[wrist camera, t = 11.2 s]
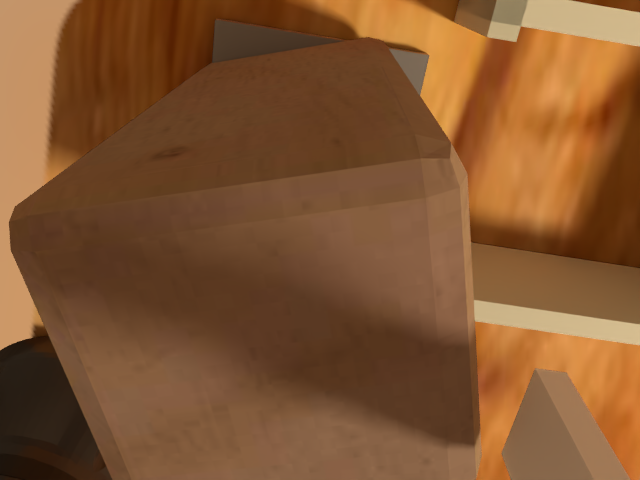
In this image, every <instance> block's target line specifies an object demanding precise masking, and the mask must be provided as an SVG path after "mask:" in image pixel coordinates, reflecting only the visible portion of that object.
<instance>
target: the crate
mask: <svg viewBox="0 0 640 480" xmlns="http://www.w3.org/2000/svg"><path fill="white" fill-rule="evenodd" d="M454 22H455V23H457V24H459V25H461V26H464V27H466V28H468V29H470V30H472V31H475V32H477V33H479V34H481V35H484V36H486V37H490V38H496V39H502V40H508V41H514V42H516V40H517V37H518V34H519V30H520V27H521V26H523V27H529V28H535V29H540V30H546V31H552V32H558V33H564V34H570V35H576V36H581V37H587V38H593V39H599V40H605V41H611V42H617V43H622V44H628V45H634V46H640V12H634V11H628V10H622V9H617V8H611V7H605V6H599V5H594V4H588V3H582V2H576V1H571V0H459V3H458V7H457V12H456V16H455V20H454ZM471 256H472V276H473V295H474V315H475V321H478V322H484V323H491V324H498V325H505V326H512V327H519V328H525V329H532V330H539V331H546V332H553V333H560V334H566V335H573V336H580V337H587V338H594V339H600V340H607V341H614V342H621V343H628V344H635V345H640V268H636V267H629V266H623V265H616V264H610V263H603V262H596V261H590V260H583V259H577V258H570V257H564V256H557V255H551V254H544V253H538V252H531V251H524V250H518V249H511V248H505V247H498V246H492V245H485V244H479V243H472V242H471Z"/></svg>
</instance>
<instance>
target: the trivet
mask: <svg viewBox="0 0 640 480" xmlns="http://www.w3.org/2000/svg"><path fill="white" fill-rule="evenodd" d="M343 41H349V40H345V39H339V38H333V37H327V36H321V35H315V34H309V33H303V32H297V31H291V30H285V29H279V28H273V27H267V26H261V25H255V24H249V23H243V22H237V21H231V20H225V19H219V18H218V19H215V29H214V43H213V58H212V63H216V62H222V61H228V60H234V59H240V58H246V57H252V56H258V55H264V54H270V53H276V52H282V51H288V50H294V49H300V48H306V47H312V46H318V45H324V44H331V43H337V42H343ZM388 49H389V50H390V52H391V53H392V55H393V56H394V58H395V59H396V61H397V62H398V64H399V65H400V67H401V68H402V70H403V71H404V73H405V74H406V76H407V77H408V79H409V80H410V82H411V83H412V85H413V86H414V88H415V89H416V91H417V92H418V94H419V95H420V93H421V89H422V85H423V80H424V76H425V72H426V67H427V63H428V59H429V55H428V54H427V53H422V52H416V51H410V50H404V49H398V48H392V47H388Z"/></svg>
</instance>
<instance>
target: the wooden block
mask: <svg viewBox="0 0 640 480" xmlns="http://www.w3.org/2000/svg"><path fill="white" fill-rule="evenodd" d="M9 228H10V244H11V252H12V254H13V256H14V258H15V261H16V263H17V265H18V267H19V269H20V272H21V274H22V276H23V279H24V281H25V283H26V285H27V288H28V290H29V292H30V295H31V297H32V299H33V301H34V304H35V306H36V308H37V310H38V313H39V315H40V317H41V319H42V322H43V324H44V326H45V328H46V331H47V333H48V335H49V337H50V340H51V342H52V344H53V346H54V349H55V351H56V353H57V356H58V358H59V360H60V362H61V365H62V367H63V369H64V371H65V374H66V376H67V378H68V380H69V383H70V385H71V387H72V389H73V392H74V394H75V396H76V398H77V401H78V403H79V405H80V408H81V410H82V412H83V414H84V417H85V419H86V421H87V423H88V426H89V428H90V430H91V432H92V435H93V437H94V439H95V441H96V444H97V446H98V448H99V450H100V453H101V455H102V457H103V459H104V462H105V464H106V466H107V469H108V471H109V473H110V475H111V478H112V480H476V478H477V473H478V469H479V464H480V460H481V456H482V454H481V434H480V414H479V394H478V375H477V355H476V335H475V315H474V295H473V276H472V256H471V236H470V216H469V196H468V177H467V172H466V170H465V168H464V166H463V164H462V163H461V161H460V159H459V157H458V155H457V153H456V151H455V149H454V147H453V146H452V144H451V142H450V140H449V139H448V137H447V136H446V134H445V133H444V131H443V130H442V128H441V127H440V125H439V124H438V122H437V121H436V119H435V118H434V116H433V115H432V113H431V112H430V110H429V109H428V107H427V106H426V104H425V103H424V101H423V100H422V98H421V97H420V95H419V94H418V92H417V91H416V89H415V88H414V86H413V85H412V83H411V82H410V80H409V79H408V77H407V76H406V74H405V73H404V71H403V70H402V68H401V67H400V65H399V64H398V62H397V61H396V59H395V58H394V56H393V55H392V53H391V52H390V50H389V49H388V47H387V46H386V44H385V43H384V41H381V40H377V39H373V38H370V37H367V38H361V39H355V40H349V41H343V42H337V43H331V44H324V45H318V46H312V47H306V48H300V49H294V50H288V51H282V52H276V53H270V54H264V55H258V56H252V57H246V58H240V59H234V60H228V61H222V62H216V63H210V64H208V65H207V66H206V67H204V68H203V69H201V70H200V71H198V72H197V73H195V74H194V75H193V76H191V77H190V78H189V79H187V80H186V81H185V82H183V83H182V84H180V85H179V86H178V87H176V88H175V89H174V90H172V91H171V92H170V93H168V94H167V95H166V96H164V97H163V98H162V99H160V100H159V101H157V102H156V103H155V104H153V105H152V106H151V107H149V108H148V109H147V110H145V111H144V112H143V113H141V114H140V115H139V116H137V117H136V118H134V119H133V120H132V121H130V122H129V123H128V124H126V125H125V126H124V127H122V128H121V129H120V130H118V131H117V132H115V133H114V134H113V135H111V136H110V137H109V138H107V139H106V140H105V141H103V142H102V143H101V144H99V145H98V146H97V147H95V148H94V149H92V150H91V151H90V152H88V153H87V154H86V155H84V156H83V157H82V158H80V159H79V160H78V161H76V162H75V163H74V164H72V165H71V166H69V167H68V168H67V169H65V170H64V171H63V172H61V173H60V174H59V175H57V176H56V177H55V178H53V179H52V180H51V181H49V182H48V183H46V184H45V185H44V186H42V187H41V188H40V189H38V190H37V191H36V192H34V193H33V194H32V195H30V196H29V197H28V198H26V199H25V200H24V201H22V202H21V203H19V204H18V205H17V206H15V208H14V211H13V213H12V216H11V218H10V221H9Z"/></svg>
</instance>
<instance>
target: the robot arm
mask: <svg viewBox="0 0 640 480" xmlns="http://www.w3.org/2000/svg"><path fill="white" fill-rule="evenodd" d="M502 456H503V459H504V462H505V464H506V467H507V470H508V473H509V476H510V478H511V480H630V478H629V476H628V475H627V473H626V471H625V470H624V468H623V466H622V465H621V463H620V461H619V460H618V458H617V456H616V455H615V453H614V451H613V450H612V448H611V446H610V445H609V443H608V441H607V440H606V438H605V436H604V435H603V433H602V431H601V430H600V428H599V426H598V425H597V423H596V421H595V420H594V418H593V416H592V414H591V413H590V411H589V409H588V408H587V406H586V404H585V403H584V401H583V399H582V398H581V396H580V394H579V393H578V391H577V389H576V388H575V386H574V384H573V383H572V381H571V379H570V378H569V376H568V374H567V373H566V372H558V371H551V370H544V369H536V368H535V370H534V373H533V375H532V378H531V380H530V383H529V385H528V388H527V390H526V393H525V395H524V398H523V400H522V403H521V406H520V408H519V411H518V413H517V416H516V418H515V421H514V423H513V426H512V428H511V431H510V433H509V436H508V438H507V441H506V443H505V446H504V448H503V451H502ZM0 480H112V478H111V475H110V473H109V471H108V469H107V466H106V464H105V462H104V459H103V457H102V455H101V453H100V450H99V448H98V446H97V444H96V441H95V439H94V437H93V435H92V432H91V430H90V428H89V426H88V423H87V421H86V419H85V417H84V414H83V412H82V410H81V408H80V405H79V403H78V401H77V398H76V396H75V394H74V392H73V389H72V387H71V385H70V383H69V380H68V378H67V376H66V374H65V371H64V369H63V367H62V365H61V362H60V360H59V358H58V356H57V353H56V351H55V349H54V346H53V344H52V342H51V340H50V337H49V336H43V337H36V338H30V339H26V340H22V341H19V342H17V343H14V344H12V345H9V346H7V347H5V348H4V349H2V350H0Z"/></svg>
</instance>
